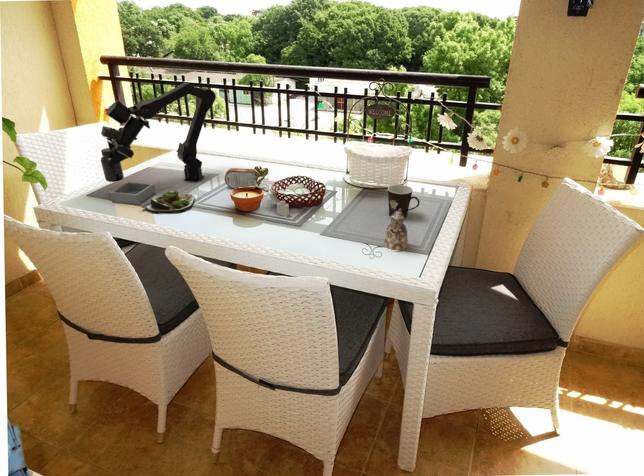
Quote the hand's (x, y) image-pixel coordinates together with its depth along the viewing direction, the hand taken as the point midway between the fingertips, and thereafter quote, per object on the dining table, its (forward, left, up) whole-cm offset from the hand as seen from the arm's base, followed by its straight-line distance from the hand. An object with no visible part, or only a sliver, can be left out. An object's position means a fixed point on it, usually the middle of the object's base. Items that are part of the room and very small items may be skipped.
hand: (107, 163), depth 174 cm
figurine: (-113, +18, -13) cm, 115 cm away
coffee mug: (-113, -4, -13) cm, 113 cm away
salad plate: (-27, +4, -14) cm, 30 cm away
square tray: (-9, 0, -13) cm, 16 cm away
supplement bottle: (-1, -1, -7) cm, 7 cm away
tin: (-48, -18, -13) cm, 53 cm away
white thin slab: (-70, +3, -13) cm, 71 cm away
